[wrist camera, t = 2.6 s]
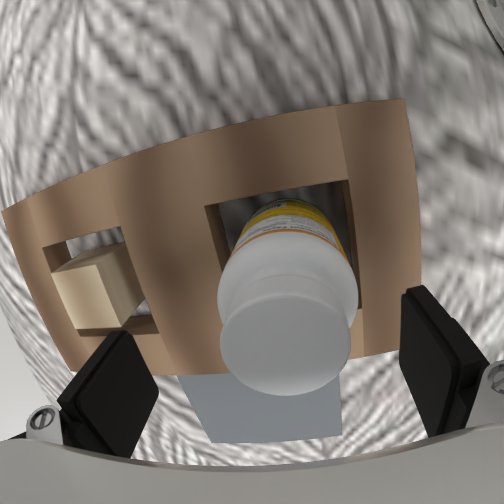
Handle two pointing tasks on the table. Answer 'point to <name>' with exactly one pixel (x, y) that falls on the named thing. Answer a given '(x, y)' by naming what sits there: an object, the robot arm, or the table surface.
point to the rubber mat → (261, 410)
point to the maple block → (99, 287)
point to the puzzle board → (212, 232)
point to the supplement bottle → (287, 301)
